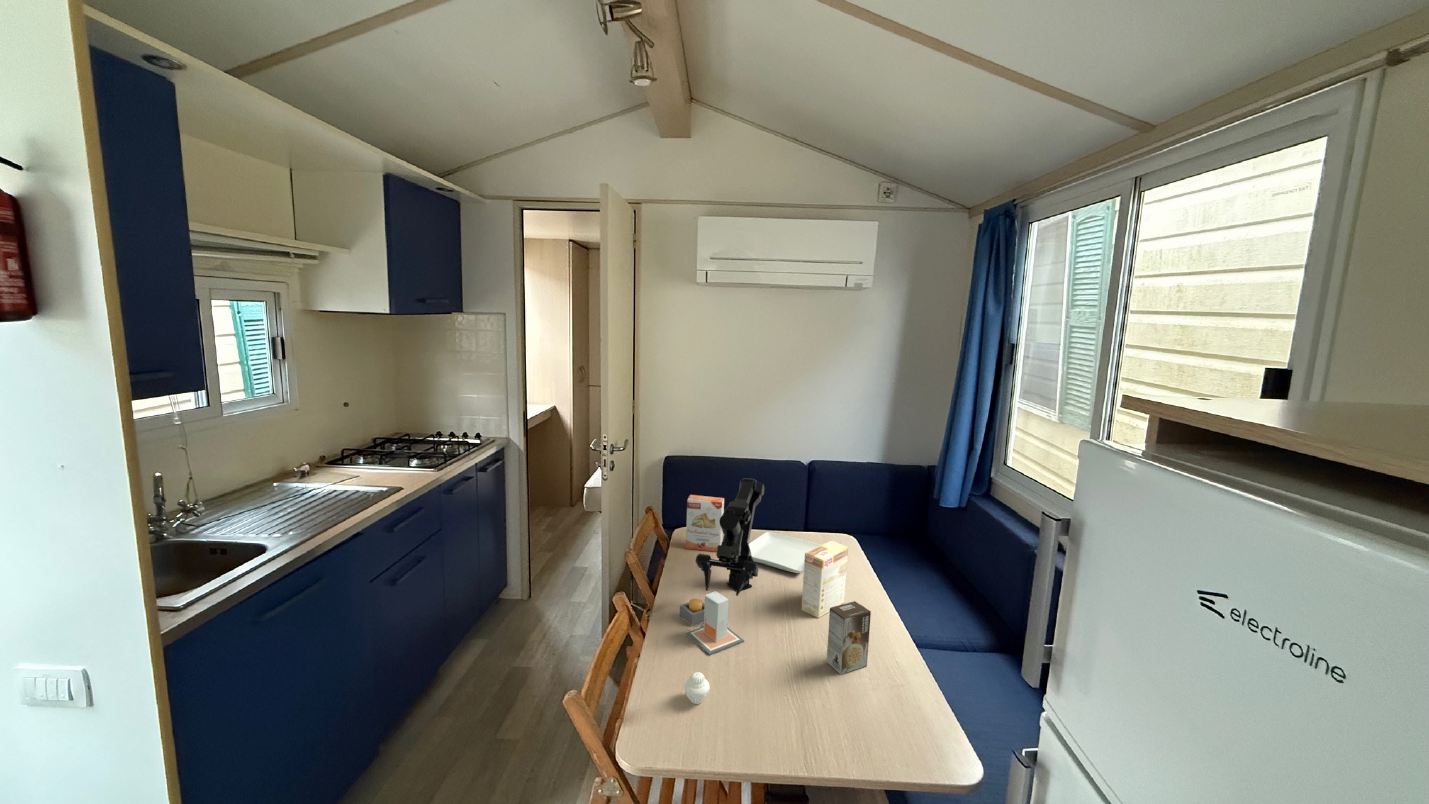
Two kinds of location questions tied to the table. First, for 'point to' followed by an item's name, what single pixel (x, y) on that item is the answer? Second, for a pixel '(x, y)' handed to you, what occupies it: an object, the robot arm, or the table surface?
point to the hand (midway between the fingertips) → (721, 593)
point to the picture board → (710, 644)
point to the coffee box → (848, 637)
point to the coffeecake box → (824, 578)
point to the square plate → (781, 551)
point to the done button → (695, 605)
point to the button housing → (692, 614)
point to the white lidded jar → (696, 688)
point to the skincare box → (715, 616)
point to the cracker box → (704, 522)
